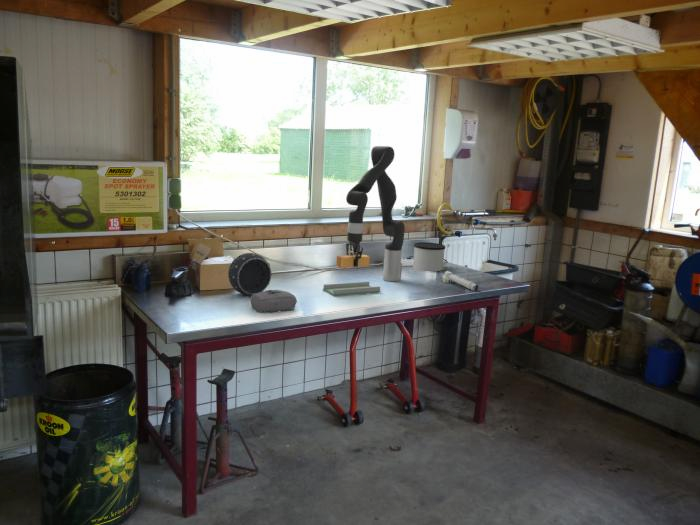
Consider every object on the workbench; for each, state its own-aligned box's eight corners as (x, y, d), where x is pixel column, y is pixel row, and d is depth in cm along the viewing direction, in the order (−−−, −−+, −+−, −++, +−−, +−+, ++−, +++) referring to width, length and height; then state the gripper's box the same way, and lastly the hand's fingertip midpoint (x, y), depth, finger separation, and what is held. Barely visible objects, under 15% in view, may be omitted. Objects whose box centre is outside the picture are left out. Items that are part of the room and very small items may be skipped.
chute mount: (367, 286, 312) (368, 281, 312) (380, 292, 301) (380, 286, 300) (322, 289, 300) (323, 284, 299) (334, 296, 289) (334, 290, 288)
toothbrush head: (473, 284, 313) (441, 268, 332) (470, 296, 315) (439, 280, 335) (480, 284, 316) (448, 268, 335) (477, 295, 318) (446, 279, 337)
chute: (364, 264, 304) (364, 254, 303) (369, 266, 299) (370, 256, 298) (336, 265, 297) (336, 255, 296) (341, 268, 292) (342, 258, 291)
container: (436, 273, 354) (438, 248, 351) (407, 268, 363) (409, 244, 360) (447, 268, 370) (449, 245, 367) (420, 264, 379) (421, 241, 376)
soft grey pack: (259, 315, 252) (302, 311, 262) (260, 296, 250) (303, 292, 260) (247, 306, 265) (288, 302, 275) (247, 288, 263) (288, 284, 273)
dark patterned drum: (273, 295, 285) (274, 254, 281) (235, 299, 273) (235, 257, 270) (263, 289, 294) (264, 250, 290) (225, 294, 282) (225, 252, 278)
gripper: (368, 233, 290) (366, 268, 293) (354, 229, 302) (353, 262, 306) (355, 234, 287) (353, 268, 290) (341, 229, 299) (340, 262, 302)
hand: (353, 265), depth 298 cm, fingers closed on chute, 4 cm apart
